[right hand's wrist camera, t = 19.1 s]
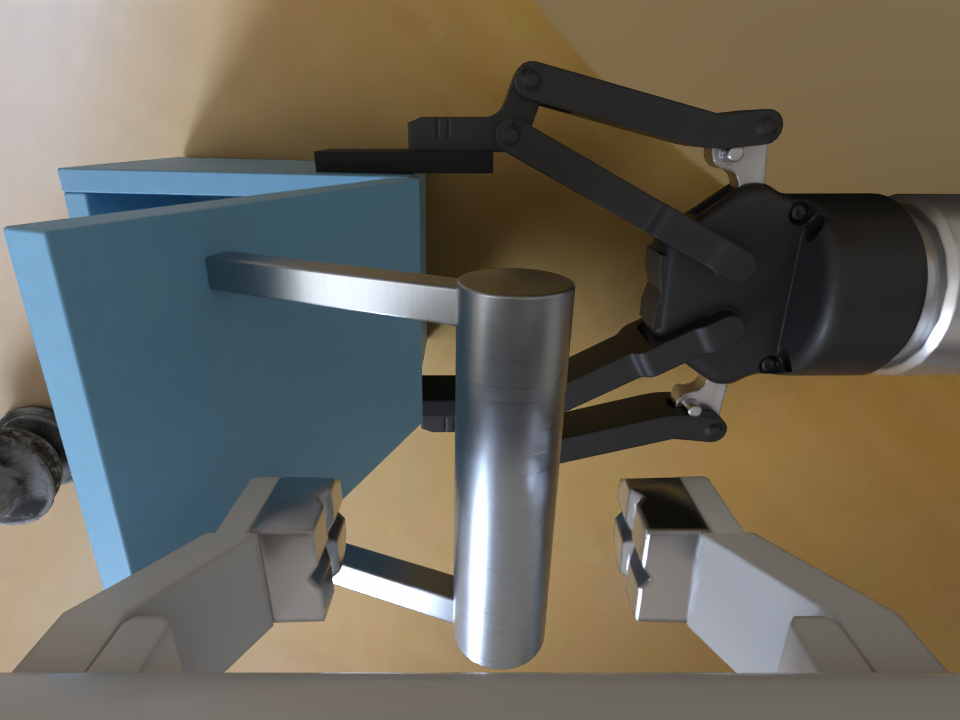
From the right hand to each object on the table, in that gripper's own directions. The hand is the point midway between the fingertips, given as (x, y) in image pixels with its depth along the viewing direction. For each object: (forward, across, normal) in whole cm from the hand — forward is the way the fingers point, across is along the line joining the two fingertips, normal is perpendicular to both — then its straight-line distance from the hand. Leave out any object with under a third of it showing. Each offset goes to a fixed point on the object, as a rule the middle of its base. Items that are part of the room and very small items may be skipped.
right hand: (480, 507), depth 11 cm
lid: (+6, +5, 0) cm, 8 cm away
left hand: (+15, +6, 0) cm, 16 cm away
